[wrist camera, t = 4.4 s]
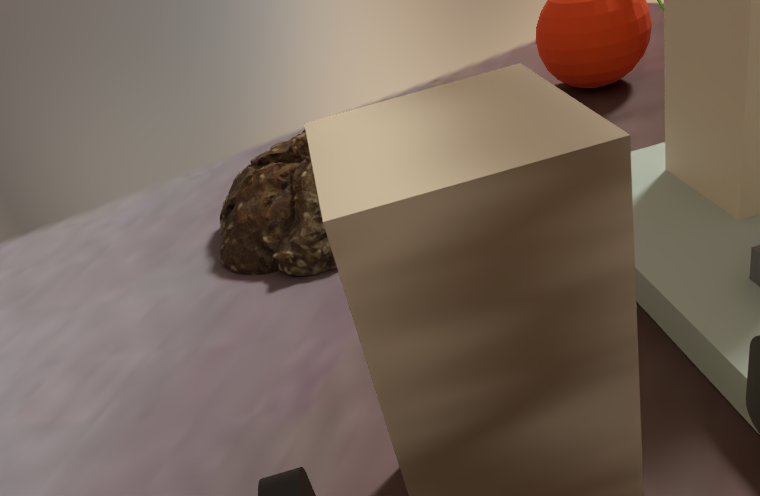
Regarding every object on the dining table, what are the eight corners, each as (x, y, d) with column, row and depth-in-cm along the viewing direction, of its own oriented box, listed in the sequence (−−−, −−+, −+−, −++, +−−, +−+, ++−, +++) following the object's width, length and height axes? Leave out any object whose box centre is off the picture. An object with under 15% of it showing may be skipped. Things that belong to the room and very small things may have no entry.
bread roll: (400, 147, 42) (383, 72, 40) (491, 220, 32) (476, 124, 29) (209, 216, 40) (178, 141, 37) (239, 319, 29) (199, 224, 27)
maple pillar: (446, 617, 16) (323, 222, 10) (406, 460, 20) (304, 123, 14) (646, 557, 16) (629, 135, 10) (562, 414, 20) (520, 63, 15)
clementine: (686, 66, 42) (687, -52, 38) (643, 108, 38) (640, -20, 34) (570, 66, 47) (562, -38, 44) (522, 103, 43) (508, -9, 40)
